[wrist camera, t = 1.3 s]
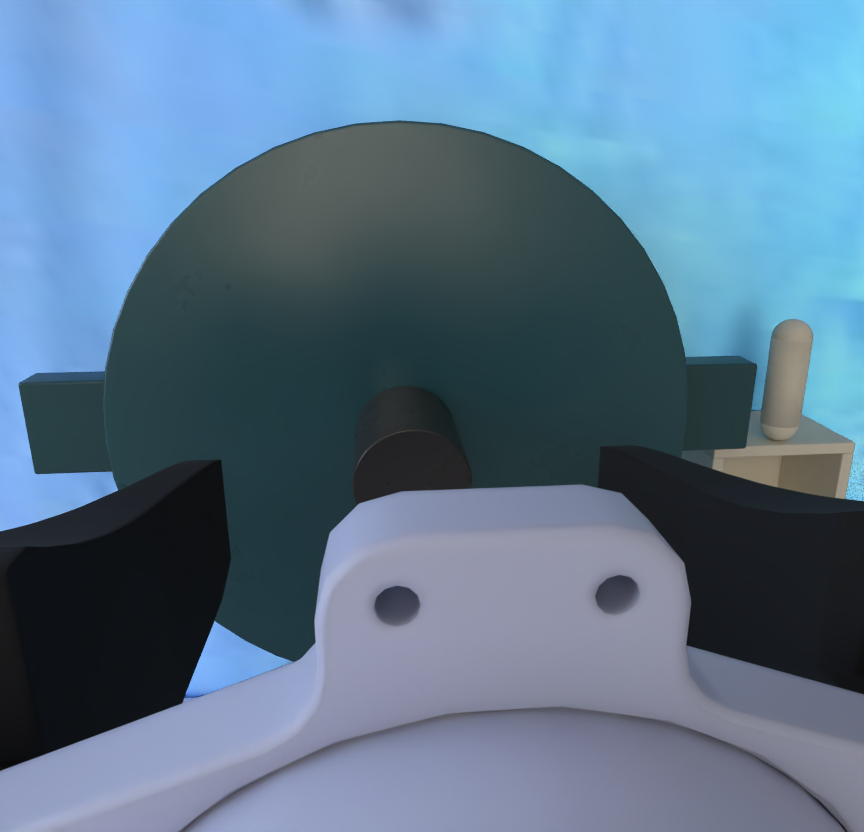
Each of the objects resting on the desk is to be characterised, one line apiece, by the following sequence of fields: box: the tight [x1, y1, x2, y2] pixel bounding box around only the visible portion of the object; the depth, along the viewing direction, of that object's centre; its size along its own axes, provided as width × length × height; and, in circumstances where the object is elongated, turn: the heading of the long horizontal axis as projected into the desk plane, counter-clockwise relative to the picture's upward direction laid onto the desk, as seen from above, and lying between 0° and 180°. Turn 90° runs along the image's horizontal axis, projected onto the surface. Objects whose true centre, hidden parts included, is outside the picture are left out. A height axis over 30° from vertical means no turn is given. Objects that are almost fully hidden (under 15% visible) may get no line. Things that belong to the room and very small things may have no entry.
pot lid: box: [103, 121, 688, 662], centre depth 17 cm, size 14×14×4 cm
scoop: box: [681, 319, 855, 499], centre depth 23 cm, size 8×4×4 cm, turn 0°
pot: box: [19, 356, 757, 474], centre depth 21 cm, size 13×19×6 cm
